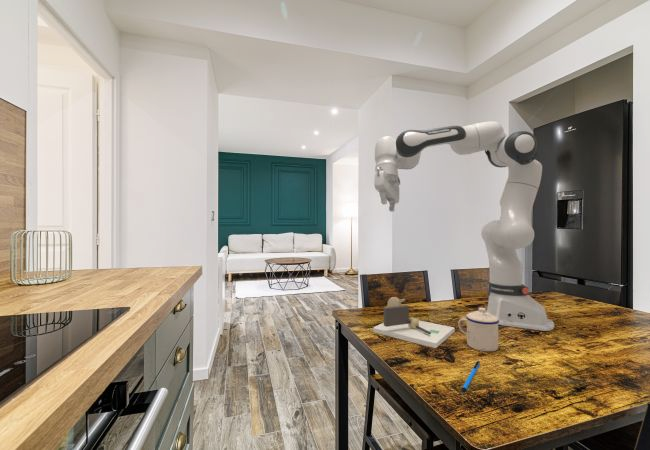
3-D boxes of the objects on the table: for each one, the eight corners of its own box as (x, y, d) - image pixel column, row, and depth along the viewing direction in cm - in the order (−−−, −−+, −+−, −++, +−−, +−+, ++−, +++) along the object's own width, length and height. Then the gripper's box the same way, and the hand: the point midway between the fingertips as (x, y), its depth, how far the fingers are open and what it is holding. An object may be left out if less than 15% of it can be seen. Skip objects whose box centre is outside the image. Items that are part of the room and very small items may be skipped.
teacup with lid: (504, 346, 94) (504, 308, 94) (491, 355, 88) (491, 314, 88) (465, 335, 103) (465, 301, 103) (451, 342, 98) (451, 306, 98)
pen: (480, 363, 84) (480, 359, 84) (464, 395, 68) (464, 390, 68) (477, 362, 84) (477, 358, 84) (460, 394, 69) (460, 389, 69)
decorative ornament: (390, 306, 140) (390, 295, 140) (406, 310, 134) (406, 298, 134) (385, 308, 137) (385, 296, 137) (401, 312, 131) (401, 299, 131)
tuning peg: (414, 324, 109) (414, 303, 109) (434, 333, 100) (434, 310, 100) (382, 328, 105) (382, 306, 105) (399, 339, 95) (399, 315, 95)
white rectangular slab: (454, 331, 107) (454, 327, 107) (435, 348, 93) (435, 343, 93) (396, 319, 121) (396, 315, 121) (372, 332, 107) (372, 327, 107)
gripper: (385, 162, 113) (387, 197, 109) (401, 182, 130) (403, 213, 126) (369, 166, 116) (370, 200, 112) (386, 185, 133) (388, 215, 129)
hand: (388, 207), depth 119 cm, fingers open, 8 cm apart
